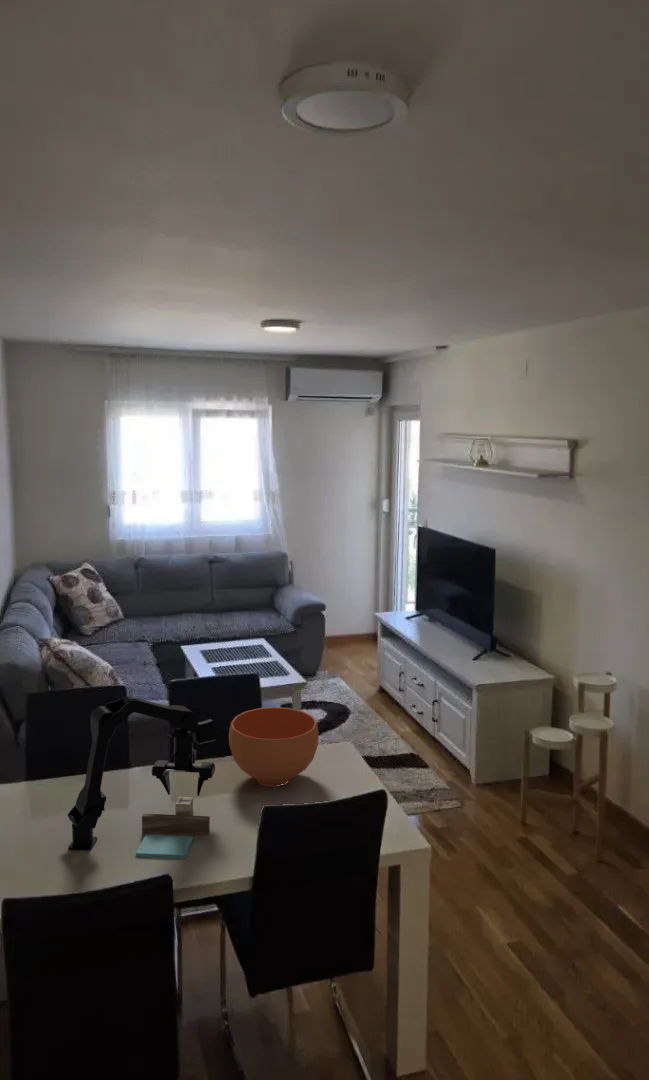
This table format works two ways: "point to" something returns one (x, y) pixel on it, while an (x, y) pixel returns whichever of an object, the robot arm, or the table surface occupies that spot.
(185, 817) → the brown wooden plank
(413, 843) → the table surface
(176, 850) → the display plate
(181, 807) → the maple cube
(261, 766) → the bowl
